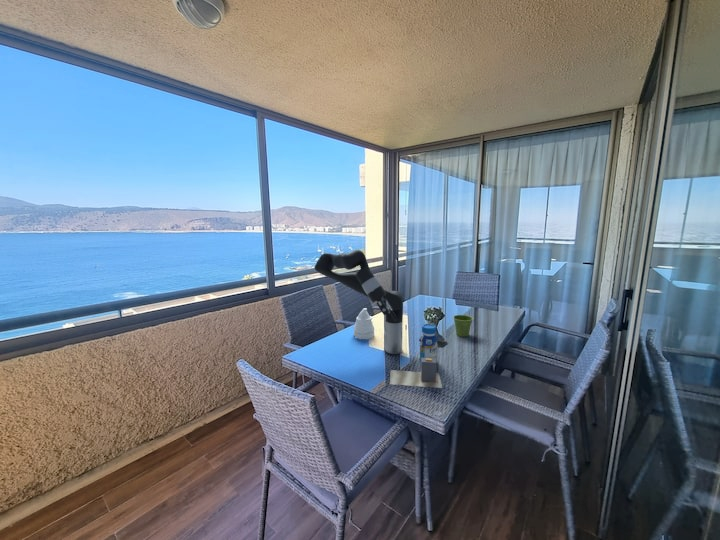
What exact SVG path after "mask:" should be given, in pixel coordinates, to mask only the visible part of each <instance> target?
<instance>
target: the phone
mask: <svg viewBox="0 0 720 540" xmlns="http://www.w3.org/2000/svg"><path fill="white" fill-rule="evenodd" d="M418 340H419V342H421V340H420V338H419V339H418ZM444 345H445V346H447V345H448V342H447V341H446V340H443V339H438V338H437V347H438V346H439V348H443V347H445V346H444Z"/></svg>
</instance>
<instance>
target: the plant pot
mask: <svg viewBox="0 0 720 540" xmlns="http://www.w3.org/2000/svg"><path fill="white" fill-rule="evenodd" d="M452 318H453V320H454V322H453V323H454V326H455V327H454V328H455V333H456V335H457V336H459V337H463V338H465V337H469V335H470V330H471V326H472V322H473V320H474V317H472V316H470V315H468V314H467V315H465V314H456V315H453V316H452Z"/></svg>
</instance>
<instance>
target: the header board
mask: <svg viewBox="0 0 720 540" xmlns="http://www.w3.org/2000/svg"><path fill="white" fill-rule="evenodd" d="M389 376H390V377H389V385H392V386H393V385H396V386H407V387H409V386H411V387H423V388H424V387H426V388H435V389H436V388H438V389H443V385H442V384H443V383H442V381H441V376H440V373H438V372H436V382H425V381H421V371H410V370H409V371H408V370H395V369H394V370H393V369H391V370H390V373H389Z"/></svg>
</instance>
